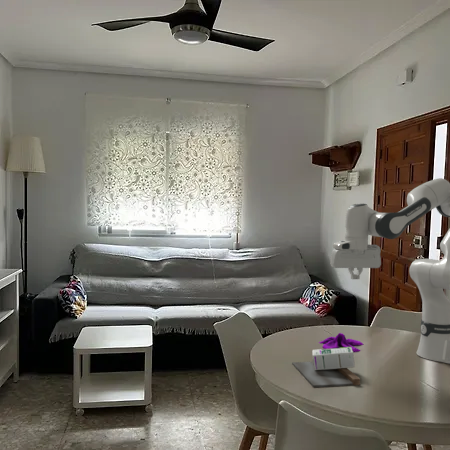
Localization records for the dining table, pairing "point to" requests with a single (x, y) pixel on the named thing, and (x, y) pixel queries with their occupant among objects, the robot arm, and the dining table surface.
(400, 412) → the dining table surface
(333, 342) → the cloth
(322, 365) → the syrup box
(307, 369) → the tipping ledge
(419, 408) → the dining table surface
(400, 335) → the dining table surface
